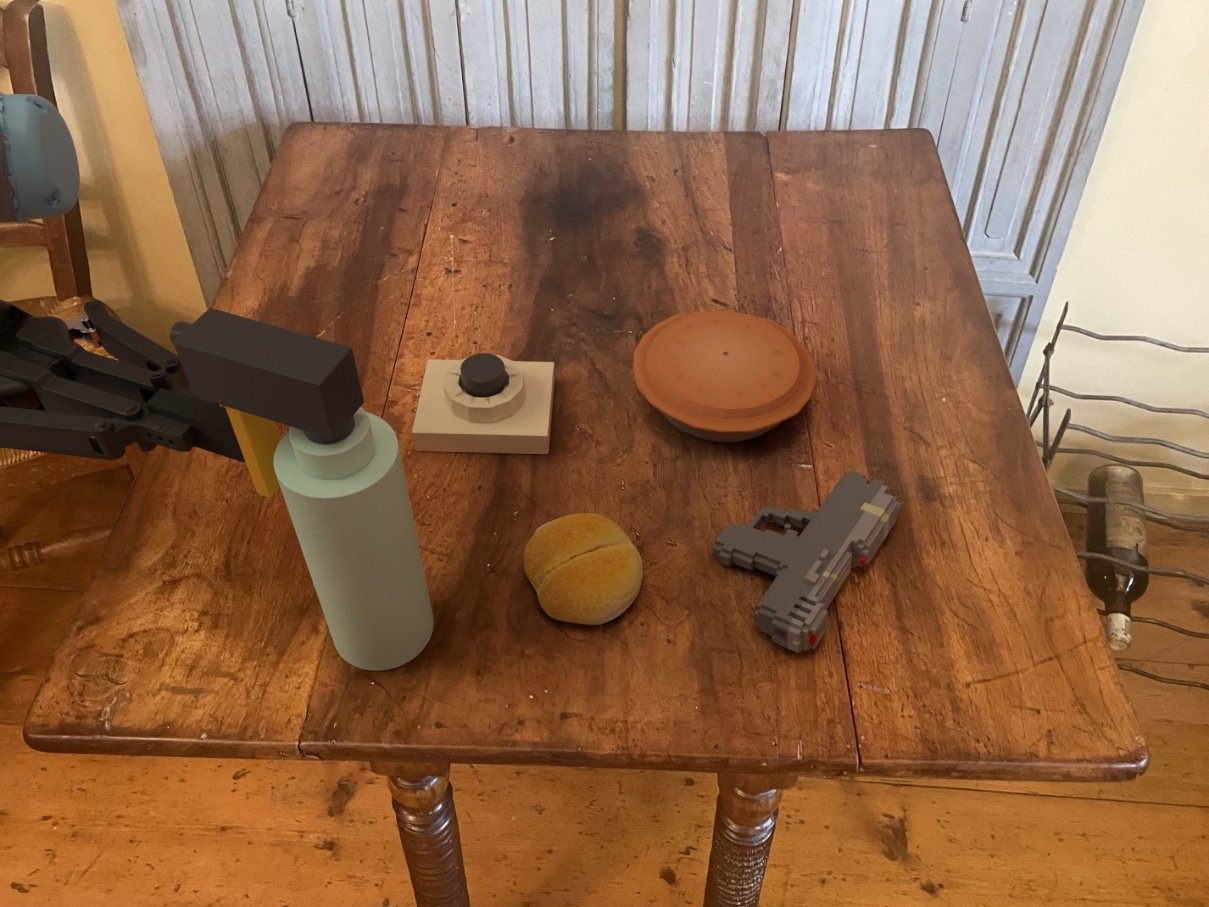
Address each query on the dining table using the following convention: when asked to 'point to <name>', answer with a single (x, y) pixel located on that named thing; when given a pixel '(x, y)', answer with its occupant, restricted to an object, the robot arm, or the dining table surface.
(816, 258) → the dining table surface
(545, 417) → the timer
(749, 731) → the dining table surface
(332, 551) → the spray bottle
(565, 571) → the bread roll
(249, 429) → the strip
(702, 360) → the pie
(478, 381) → the timer button
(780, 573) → the toy gun
